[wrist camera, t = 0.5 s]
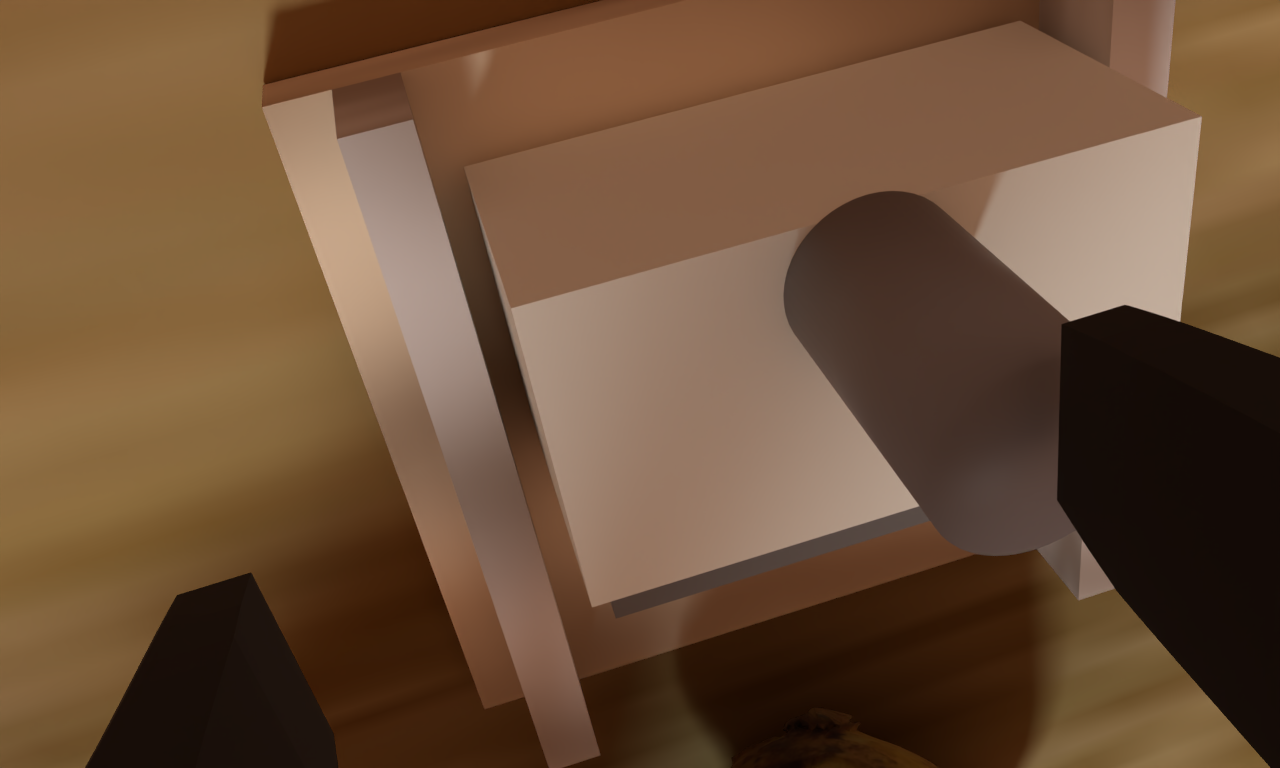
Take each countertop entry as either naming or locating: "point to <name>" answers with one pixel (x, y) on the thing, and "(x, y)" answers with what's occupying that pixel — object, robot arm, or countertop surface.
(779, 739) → the potato
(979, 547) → the block
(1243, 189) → the countertop surface
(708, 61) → the press board
